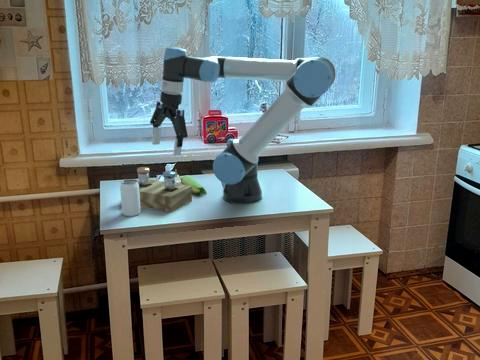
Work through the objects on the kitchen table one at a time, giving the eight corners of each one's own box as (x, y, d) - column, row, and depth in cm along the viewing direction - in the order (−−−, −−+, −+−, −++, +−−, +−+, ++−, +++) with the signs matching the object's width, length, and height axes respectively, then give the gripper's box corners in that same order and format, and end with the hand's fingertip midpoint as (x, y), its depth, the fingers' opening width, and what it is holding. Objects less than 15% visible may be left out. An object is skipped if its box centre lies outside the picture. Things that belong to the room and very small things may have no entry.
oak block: (192, 201, 194) (191, 186, 193) (171, 212, 182) (170, 196, 181) (145, 192, 204) (145, 178, 202) (123, 203, 192) (121, 188, 190)
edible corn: (190, 173, 215) (180, 172, 213) (209, 188, 199) (199, 186, 196) (187, 185, 216) (177, 184, 214) (206, 200, 199) (196, 199, 197)
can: (139, 216, 179) (137, 184, 175) (121, 217, 178) (118, 184, 175) (141, 210, 185) (139, 178, 182) (123, 210, 185) (121, 179, 181)
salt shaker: (178, 192, 190) (178, 171, 188) (171, 196, 186) (170, 174, 184) (168, 191, 192) (167, 170, 190) (161, 194, 188) (160, 173, 186)
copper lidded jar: (152, 188, 196) (151, 167, 193) (145, 191, 192) (144, 170, 189) (143, 186, 198) (142, 166, 195) (135, 190, 194) (134, 169, 191)
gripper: (143, 85, 186) (139, 140, 193) (184, 100, 169) (177, 160, 176) (160, 85, 191) (155, 139, 198) (201, 100, 174) (194, 158, 181)
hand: (166, 149), depth 187 cm, fingers open, 13 cm apart
